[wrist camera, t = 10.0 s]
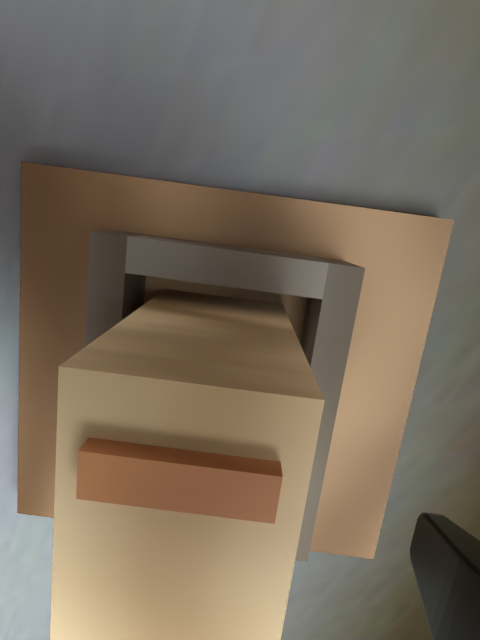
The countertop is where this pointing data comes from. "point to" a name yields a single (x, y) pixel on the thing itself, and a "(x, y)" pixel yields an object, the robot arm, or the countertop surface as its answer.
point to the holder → (238, 282)
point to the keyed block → (182, 473)
